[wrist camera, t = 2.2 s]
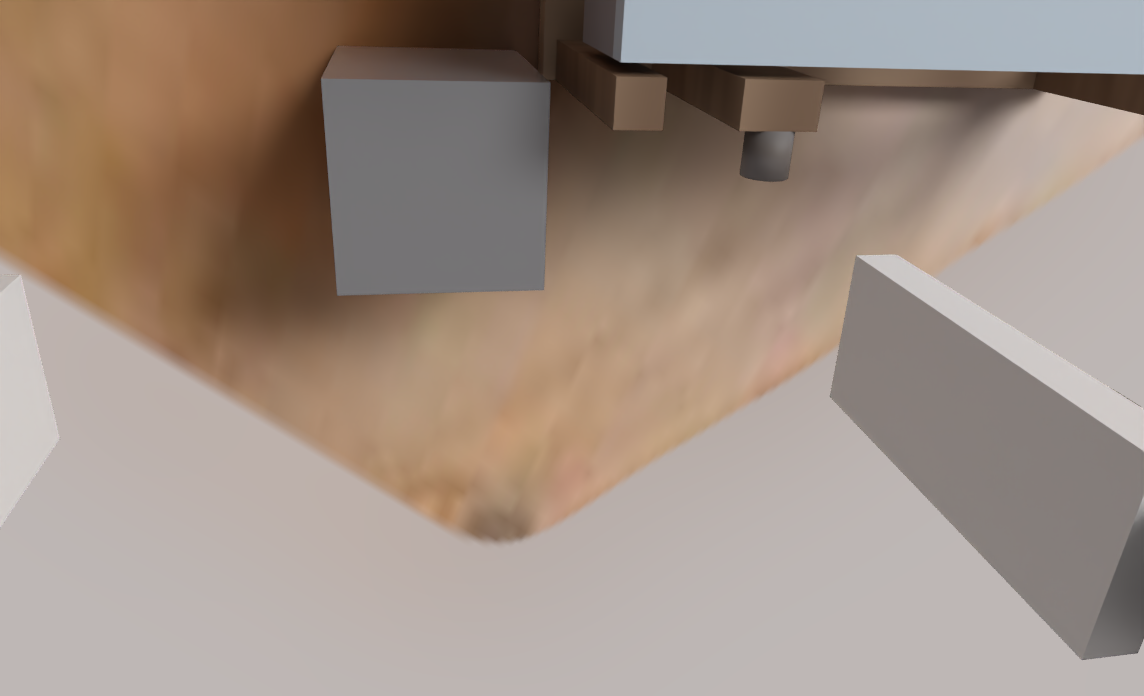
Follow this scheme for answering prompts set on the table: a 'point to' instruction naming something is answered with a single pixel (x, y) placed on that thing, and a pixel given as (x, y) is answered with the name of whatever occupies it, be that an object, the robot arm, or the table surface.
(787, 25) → the trapdoor
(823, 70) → the frame
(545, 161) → the block
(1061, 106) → the table surface
